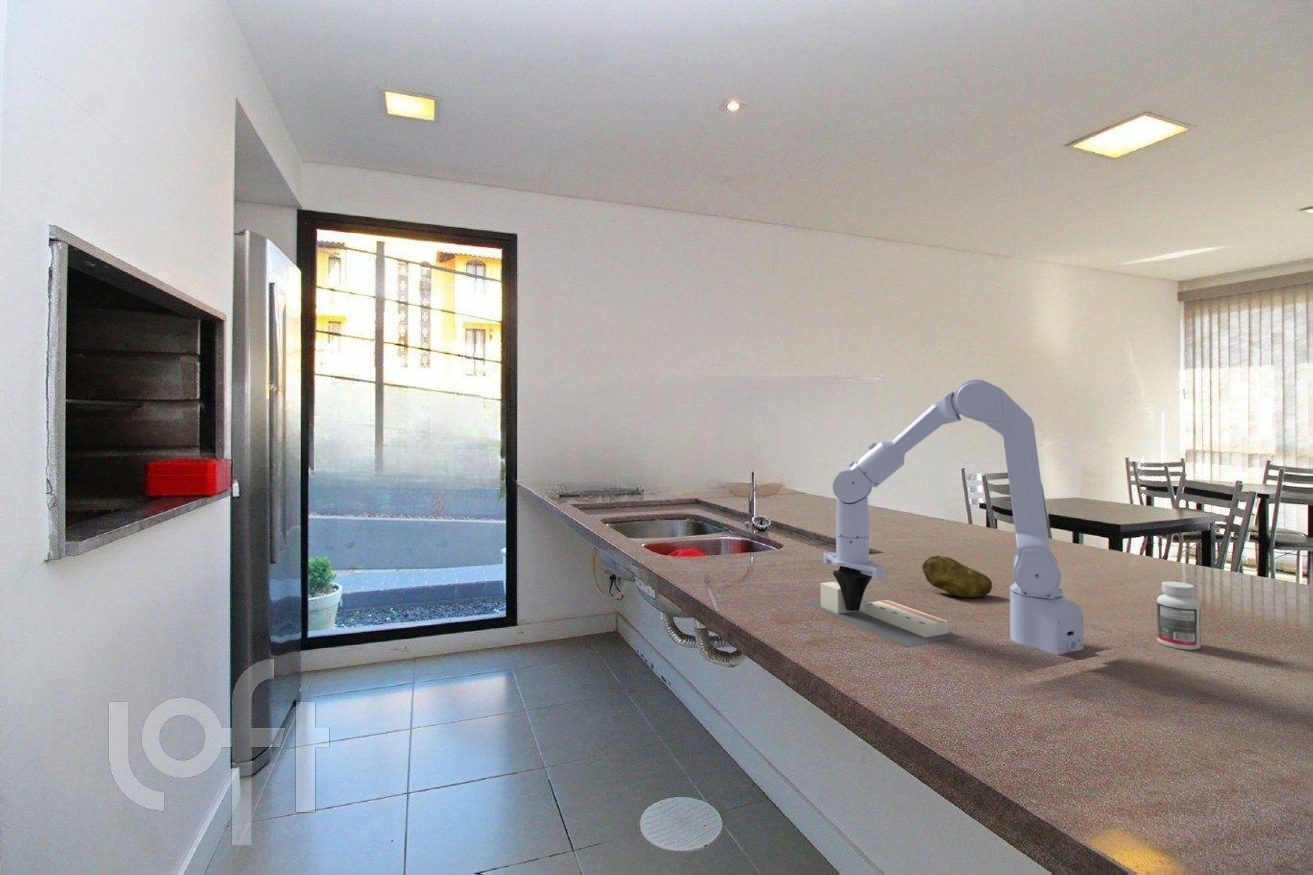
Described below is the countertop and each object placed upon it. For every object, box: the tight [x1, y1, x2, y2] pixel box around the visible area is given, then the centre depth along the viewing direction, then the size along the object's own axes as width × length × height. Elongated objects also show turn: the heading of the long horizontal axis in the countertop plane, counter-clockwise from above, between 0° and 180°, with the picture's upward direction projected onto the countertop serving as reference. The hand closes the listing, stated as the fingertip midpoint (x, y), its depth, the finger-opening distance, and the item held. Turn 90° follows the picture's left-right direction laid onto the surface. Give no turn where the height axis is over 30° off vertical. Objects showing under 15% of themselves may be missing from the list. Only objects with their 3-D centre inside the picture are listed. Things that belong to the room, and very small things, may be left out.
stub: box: [820, 580, 853, 614], centre depth 115 cm, size 5×4×5 cm
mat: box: [805, 598, 964, 648], centre depth 109 cm, size 26×12×1 cm, turn 22°
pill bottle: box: [1156, 580, 1202, 651], centre depth 98 cm, size 5×5×10 cm
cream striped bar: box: [866, 599, 949, 638], centre depth 106 cm, size 14×5×2 cm, turn 22°
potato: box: [921, 555, 993, 599], centre depth 129 cm, size 8×13×8 cm, turn 54°
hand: (852, 609), depth 112 cm, fingers closed
